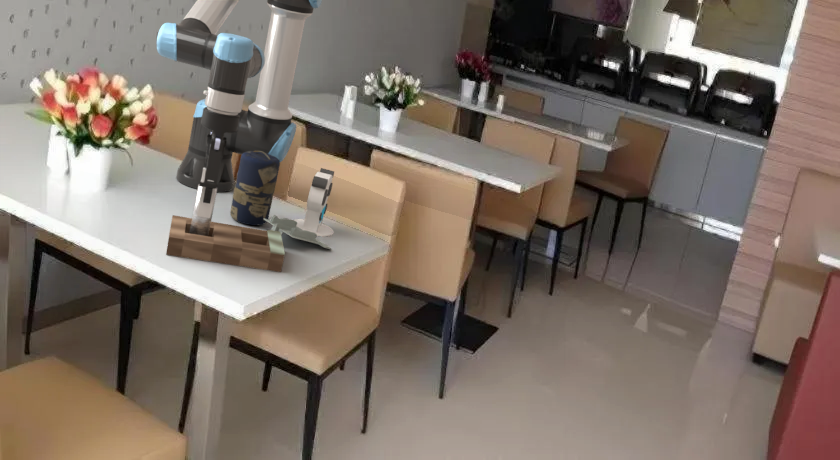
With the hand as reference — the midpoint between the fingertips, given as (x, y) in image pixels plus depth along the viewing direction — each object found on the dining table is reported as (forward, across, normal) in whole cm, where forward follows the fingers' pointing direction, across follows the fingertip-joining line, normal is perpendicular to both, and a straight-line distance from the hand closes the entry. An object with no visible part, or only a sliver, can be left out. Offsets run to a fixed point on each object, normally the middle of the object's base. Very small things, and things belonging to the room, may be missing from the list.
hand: (203, 206), depth 176 cm
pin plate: (+10, 0, +6) cm, 11 cm away
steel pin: (+10, 0, 0) cm, 10 cm away
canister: (+10, -24, +12) cm, 29 cm away
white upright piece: (+10, -26, +28) cm, 40 cm away
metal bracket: (+9, -14, +22) cm, 28 cm away
